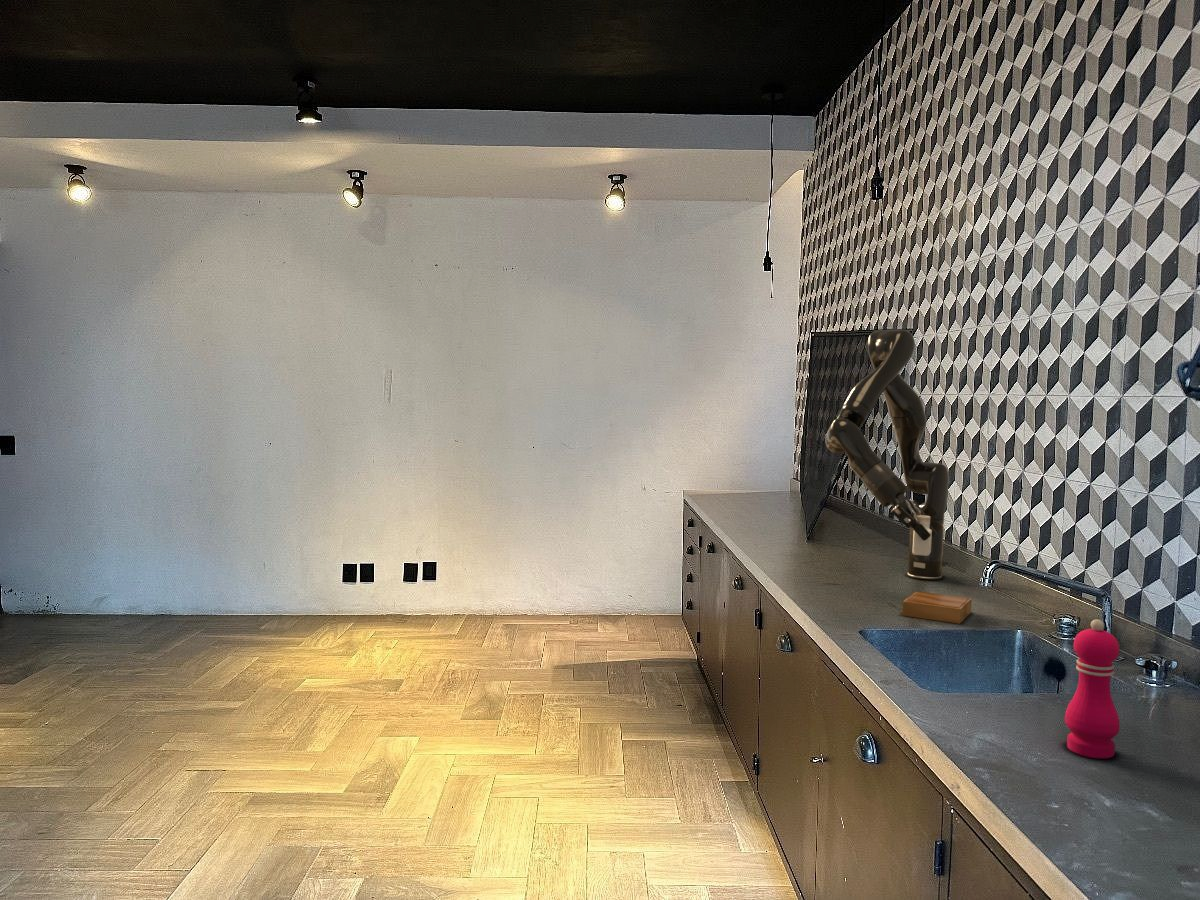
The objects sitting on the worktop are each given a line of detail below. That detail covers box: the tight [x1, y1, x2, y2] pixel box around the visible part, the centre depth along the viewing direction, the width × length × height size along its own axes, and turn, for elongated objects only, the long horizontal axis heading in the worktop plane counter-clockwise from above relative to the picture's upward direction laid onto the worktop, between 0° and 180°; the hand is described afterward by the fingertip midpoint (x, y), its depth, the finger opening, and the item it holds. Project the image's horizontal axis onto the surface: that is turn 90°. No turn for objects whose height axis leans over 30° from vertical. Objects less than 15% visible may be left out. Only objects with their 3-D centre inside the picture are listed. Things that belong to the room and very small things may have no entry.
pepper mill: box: [1064, 618, 1121, 760], centre depth 135 cm, size 7×7×20 cm
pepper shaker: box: [913, 515, 932, 556], centre depth 223 cm, size 4×4×10 cm
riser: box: [902, 591, 972, 625], centre depth 219 cm, size 13×13×4 cm
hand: (930, 536), depth 222 cm, fingers closed on pepper shaker, 4 cm apart
